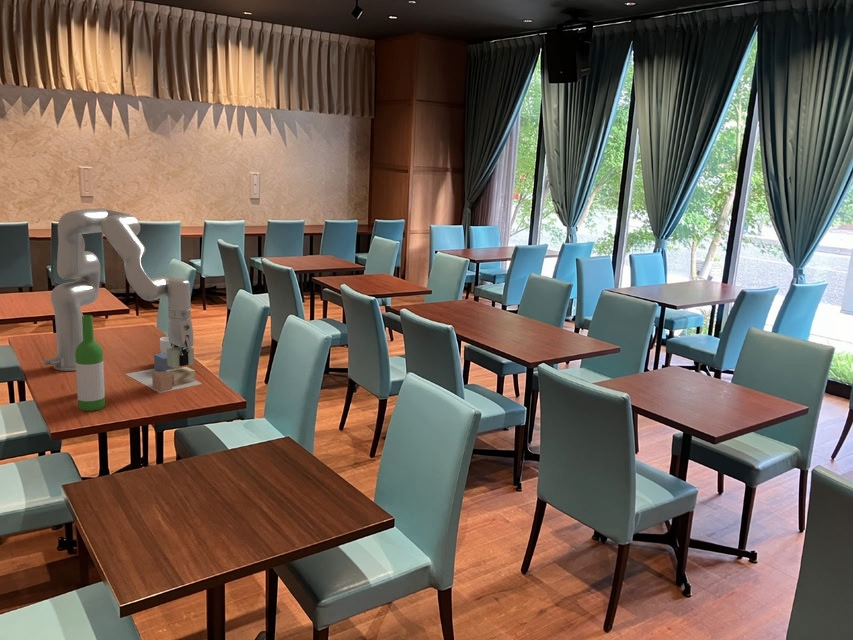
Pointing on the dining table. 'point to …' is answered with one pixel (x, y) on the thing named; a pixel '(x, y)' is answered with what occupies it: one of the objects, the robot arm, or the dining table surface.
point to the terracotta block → (162, 381)
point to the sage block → (174, 357)
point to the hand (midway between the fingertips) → (180, 363)
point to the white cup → (164, 344)
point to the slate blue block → (161, 362)
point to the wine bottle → (89, 369)
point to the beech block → (182, 375)
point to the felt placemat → (146, 379)
